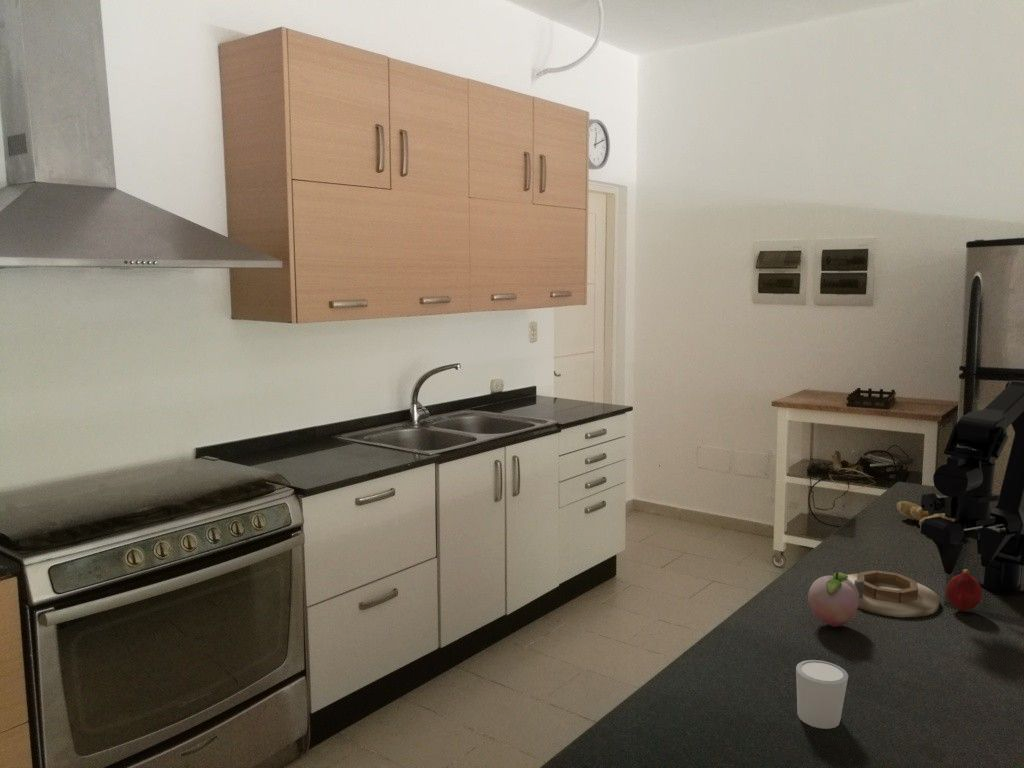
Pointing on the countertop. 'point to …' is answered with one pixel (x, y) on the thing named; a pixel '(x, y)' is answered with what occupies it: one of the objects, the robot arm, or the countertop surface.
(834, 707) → the white cup
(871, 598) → the flange plate
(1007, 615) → the countertop surface
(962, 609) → the onion
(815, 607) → the decorative fruit
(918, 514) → the ginger root
